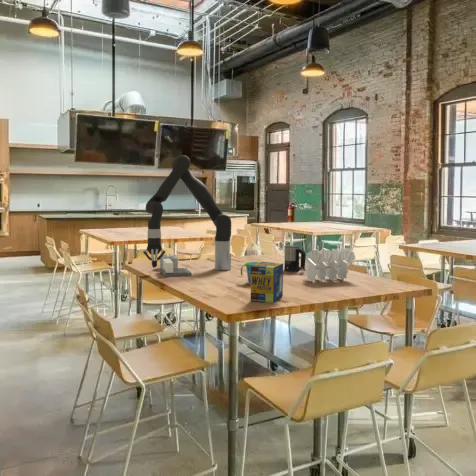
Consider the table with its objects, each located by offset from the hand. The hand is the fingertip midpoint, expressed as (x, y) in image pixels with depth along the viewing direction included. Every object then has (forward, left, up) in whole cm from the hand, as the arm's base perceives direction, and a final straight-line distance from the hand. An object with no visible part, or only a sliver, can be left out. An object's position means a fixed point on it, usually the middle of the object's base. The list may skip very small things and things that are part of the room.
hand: (154, 267), depth 299 cm
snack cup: (-49, +39, -4) cm, 62 cm away
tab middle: (-8, 0, -2) cm, 8 cm away
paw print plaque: (-10, -20, -4) cm, 23 cm away
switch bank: (-12, 0, -4) cm, 13 cm away
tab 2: (-8, +7, -2) cm, 10 cm away
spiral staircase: (-88, +41, -4) cm, 97 cm away
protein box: (-43, +79, -4) cm, 90 cm away
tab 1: (-8, -6, -2) cm, 10 cm away
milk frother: (-85, +3, -4) cm, 85 cm away
